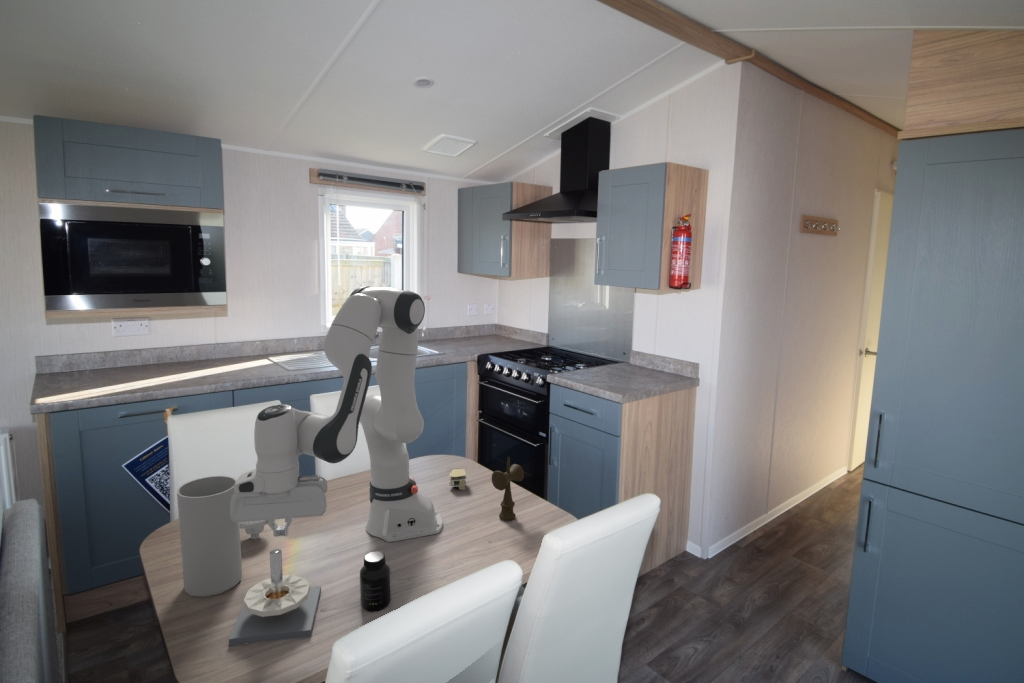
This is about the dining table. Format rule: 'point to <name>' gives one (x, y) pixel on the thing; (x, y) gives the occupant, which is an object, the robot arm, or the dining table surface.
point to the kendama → (507, 488)
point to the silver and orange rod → (276, 575)
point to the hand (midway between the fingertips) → (281, 535)
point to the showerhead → (253, 527)
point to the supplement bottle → (375, 582)
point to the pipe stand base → (277, 623)
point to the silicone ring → (270, 607)
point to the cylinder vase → (208, 536)
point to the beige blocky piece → (457, 478)
